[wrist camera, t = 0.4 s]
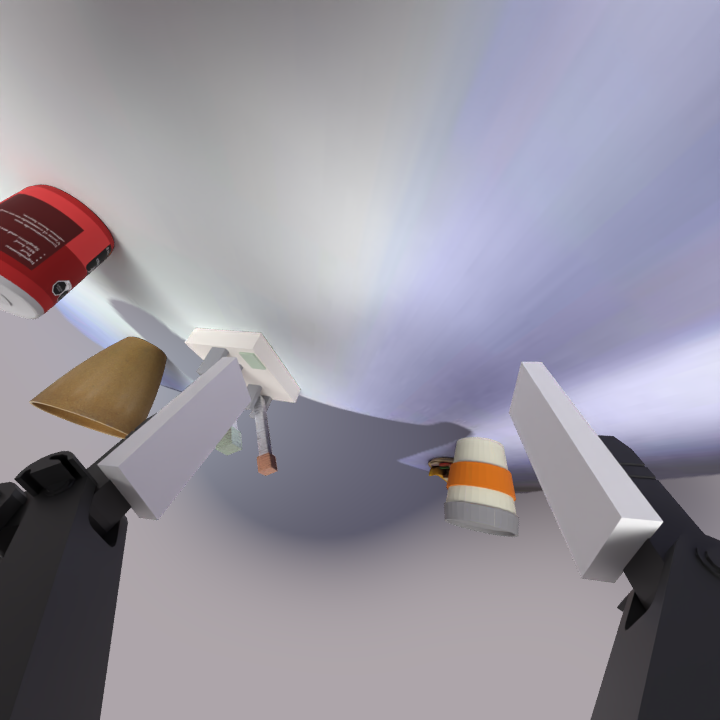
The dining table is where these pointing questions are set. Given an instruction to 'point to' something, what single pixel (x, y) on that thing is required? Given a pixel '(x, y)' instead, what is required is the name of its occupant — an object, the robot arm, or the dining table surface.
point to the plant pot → (108, 388)
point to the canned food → (46, 248)
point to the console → (246, 363)
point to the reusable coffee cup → (481, 489)
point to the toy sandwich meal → (440, 467)
